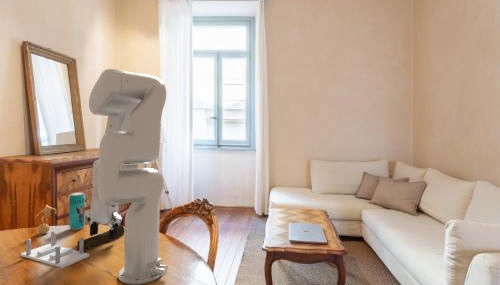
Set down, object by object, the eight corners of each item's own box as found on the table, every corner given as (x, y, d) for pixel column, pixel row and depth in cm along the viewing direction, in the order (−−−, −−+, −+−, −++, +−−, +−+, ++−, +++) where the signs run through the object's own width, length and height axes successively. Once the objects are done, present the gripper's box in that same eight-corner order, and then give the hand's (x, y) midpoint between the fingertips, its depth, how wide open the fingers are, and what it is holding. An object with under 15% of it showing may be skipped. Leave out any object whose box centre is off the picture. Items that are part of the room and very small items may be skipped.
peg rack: (89, 256, 95) (89, 239, 94) (62, 268, 86) (62, 249, 86) (49, 245, 102) (49, 230, 102) (20, 256, 93) (20, 238, 93)
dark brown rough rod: (83, 253, 97) (83, 240, 97) (76, 250, 99) (76, 237, 99) (128, 236, 114) (129, 224, 114) (122, 234, 116) (122, 223, 116)
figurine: (51, 229, 118) (51, 201, 118) (60, 232, 116) (60, 203, 115) (28, 236, 110) (29, 205, 110) (38, 238, 108) (38, 207, 108)
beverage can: (76, 231, 117) (76, 195, 116) (65, 229, 119) (66, 194, 118) (88, 227, 122) (88, 192, 122) (78, 225, 124) (78, 191, 124)
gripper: (129, 193, 107) (128, 237, 108) (95, 188, 113) (95, 230, 114) (113, 197, 100) (112, 244, 101) (78, 191, 106) (77, 236, 107)
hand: (103, 237), depth 107 cm, fingers open, 9 cm apart
